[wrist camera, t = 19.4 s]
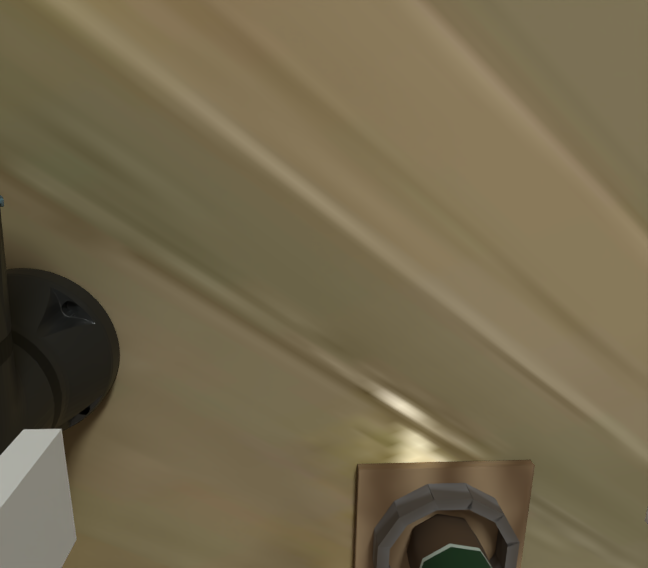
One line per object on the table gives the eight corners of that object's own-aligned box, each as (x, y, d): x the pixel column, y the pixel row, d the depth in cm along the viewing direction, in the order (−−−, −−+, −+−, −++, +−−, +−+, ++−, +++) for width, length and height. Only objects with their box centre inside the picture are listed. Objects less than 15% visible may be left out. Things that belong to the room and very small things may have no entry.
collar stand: (352, 605, 59) (356, 634, 56) (357, 464, 54) (362, 486, 51) (511, 599, 60) (524, 626, 57) (530, 459, 55) (546, 481, 52)
